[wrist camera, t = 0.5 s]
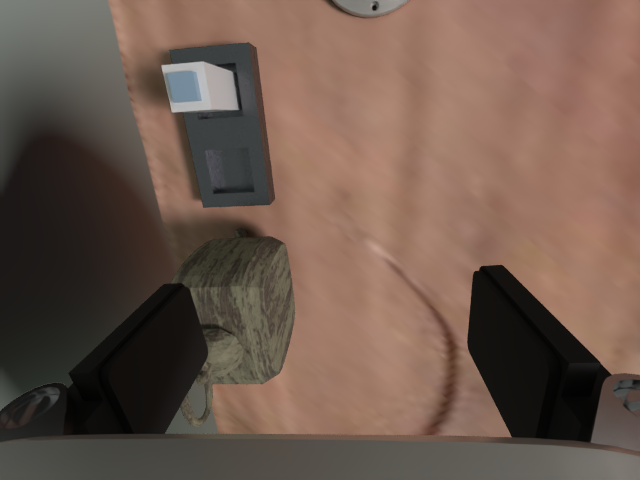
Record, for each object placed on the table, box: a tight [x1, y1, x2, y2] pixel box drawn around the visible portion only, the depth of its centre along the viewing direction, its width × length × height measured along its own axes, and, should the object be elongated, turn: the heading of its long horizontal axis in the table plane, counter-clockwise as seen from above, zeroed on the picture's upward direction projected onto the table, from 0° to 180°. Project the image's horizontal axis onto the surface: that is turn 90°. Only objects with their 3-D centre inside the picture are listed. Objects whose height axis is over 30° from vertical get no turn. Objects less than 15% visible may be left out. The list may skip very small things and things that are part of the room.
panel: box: [169, 43, 275, 208], centre depth 38 cm, size 18×9×3 cm, turn 4°
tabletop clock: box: [171, 229, 295, 427], centre depth 35 cm, size 14×9×25 cm, turn 5°
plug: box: [161, 62, 242, 112], centre depth 33 cm, size 4×4×10 cm
